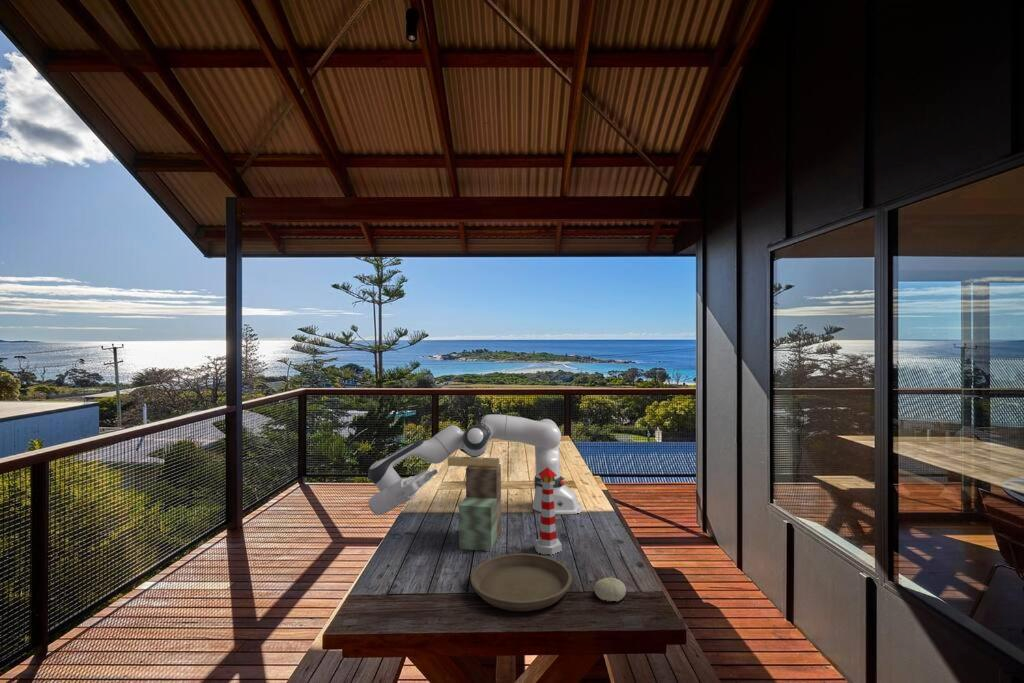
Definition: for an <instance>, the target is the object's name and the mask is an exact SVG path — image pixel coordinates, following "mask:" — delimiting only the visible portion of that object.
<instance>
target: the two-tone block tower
mask: <svg viewBox="0 0 1024 683" xmlns="http://www.w3.org/2000/svg"><path fill="white" fill-rule="evenodd" d="M501 464H502V463H501ZM501 464H500V463H499V467H498V468H491V467H466V468H465V497H464V499H463V500H462V501H461V502H460V503H459V505H458V541H459V542H458V549H459V550H467V549H468V551H481V550H492V551H493V549H492V548H494V547H495V545H496V543H497V541H498V539H499V537H500V536H499V535H501V534H502V470H501V468H502V465H501ZM500 533H501V534H500ZM494 544H495V545H494ZM493 546H494V547H493Z"/></svg>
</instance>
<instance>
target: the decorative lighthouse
mask: <svg viewBox="0 0 1024 683" xmlns="http://www.w3.org/2000/svg"><path fill="white" fill-rule="evenodd" d="M539 476H540V477H541V484H542V502H541V512H540V521H539V522H540V523H539V539H535V540H534V541H533V543H534V547H535V548H534V549H535V551H536V552H538V553H537V554H539V553H541V555H546V554H550V555H549V556H553V555H552V554H554V555H556V554H558V553H557V552H559V553H560V551H561V552H563V548H562V546H563V544H562V543H561V541H560V539H559V538H557V528H556V526H557V525H556V524H557V523H556V514H555V509H554V494H553V485H554V484H555V481H554V476H557V475H556V474H555V473H554V472H553V471H552V470H550V469H549V468H548V467H547V468H546V469H544V470H543V471H542V472H540V473H539ZM555 553H556V554H555Z"/></svg>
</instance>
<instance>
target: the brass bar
mask: <svg viewBox="0 0 1024 683" xmlns="http://www.w3.org/2000/svg"><path fill="white" fill-rule="evenodd" d="M499 464H500V458H499V457H481V456H478V457H471V456H456V455H455V456H451V455H450V456H449V457H448V458H447V466H448V467H466V468H467V467H491V468H498V467H499Z"/></svg>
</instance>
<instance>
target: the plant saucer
mask: <svg viewBox="0 0 1024 683" xmlns="http://www.w3.org/2000/svg"><path fill="white" fill-rule="evenodd" d="M470 574H471V575H470V584H471V587H472V588H473V590H474V591H475V592H476V594H477V595H478V596H479V597H481V599H482V600H483V601H484V600H485V603H487V602H488V603H487V604H489V605H490V604H491V605H490V606H492V605H493V606H492V607H495V608H497V607H498V609H501V610H507V611H510V612H511V611H512V612H530V611H538V610H542V609H545V608H548V607H550V606H552V605H555V603H557V602H558V601H560V600H561V599H562V597H563V596H565V594H566V593H567V592H568V590H569V589H570V587H571V585H572V581H573V577H572V574H571V572H570V570H569V568H567V567H566V566H565V565H564V564H563V563H561V561H558V560H556V559H553V558H551V557H547V556H544V555H539V554H533V553H510V554H509V553H508V554H503V555H498V556H494V557H491V558H488V559H487V560H485V561H483V562H481V563H480V564H478V565H477V566H476V567H474V569H473V570H472V571H471V573H470Z"/></svg>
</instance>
